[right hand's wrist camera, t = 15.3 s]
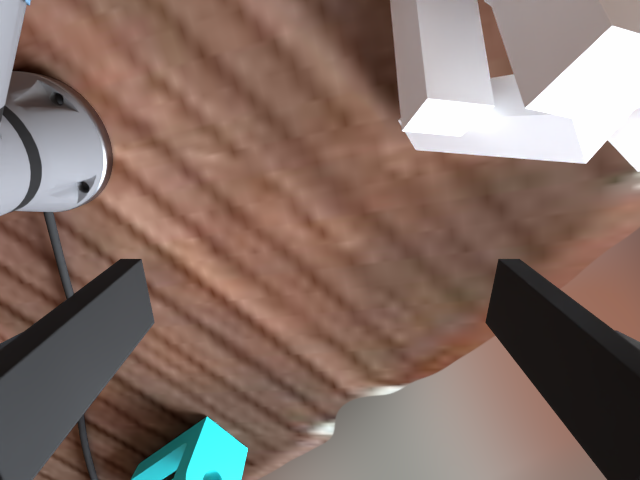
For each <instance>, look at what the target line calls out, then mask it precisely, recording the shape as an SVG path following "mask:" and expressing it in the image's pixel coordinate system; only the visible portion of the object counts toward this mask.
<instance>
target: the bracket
mask: <svg viewBox="0 0 640 480" xmlns="http://www.w3.org/2000/svg"><path fill="white" fill-rule="evenodd" d="M247 451H248V448H246V447H245V446H244V445H243V444H241V443H240V442H239V441H237V440H236V439H235V438H234V437H232V436H231V435H230V434H229V433H227V432H226V431H225V430H224V429H222V428H221V427H220V426H218V425H217V424H216V423H215V422H213V421H212V420H211V419H210V418H208V417H205V418H204V419H203V420H201V421H200V422H198V423H197V424H195V425H194V426H193V427H191V428H190V429H188V430H187V431H185V432H184V433H183V434H181V435H180V436H178V437H177V438H175V439H174V440H172V441H171V442H170V443H168V444H167V445H165V446H164V447H162V448H161V449H160V450H158V451H157V452H155V453H154V454H152V455H151V456H149V457H148V458H147V459H145V460H144V461H142V462H141V463H140V464H139V465H138V466H137V468H136V470H135V472H134V474H133V476H132V478H131V480H162V479H164V478H165V477H167V476H169V475H170V474H172V473H173V472H175V471H176V470H177V471H176V473H175V476H174V478H173V479H171V480H241V478H242V474H243V469H244V465H245V460H246V456H247Z"/></svg>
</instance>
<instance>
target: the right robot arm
mask: <svg viewBox="0 0 640 480" xmlns="http://www.w3.org/2000/svg"><path fill="white" fill-rule="evenodd" d="M30 1H31V0H0V216H1V215H4V214H6V213H9V212H12V211H36V212H44V216H45V220H46V224H47V228H48V232H49V236H50V240H51V244H52V248H53V251H54V255H55V259H56V262H57V266H58V270H59V274H60V277H61V281H62V284H63V288H64V291H65V295H66V298H67V300H65V301H64V302H63V303H61V304H60V305H59V306H58V307H56V308H55V309H54V310H52V311H51V312H50V313H48V314H47V315H46V316H44V317H43V318H42V319H40V320H39V321H38V322H36V323H35V324H34V325H32V326H31V327H30V328H28V329H27V330H26V331H24V332H22V333H20V334H18V335H16V336H14V337H12V338H10V339H8V340H7V341H5V342H3V343H1V344H0V480H33V479H34V477H35V476H36V475H37V473H38V472H39V471H40V470H41V468H42V467H43V466H44V464H45V463H46V462H47V461H48V459H49V458H50V457H51V455H52V454H53V453H54V452H55V450H56V449H57V448H58V446H59V445H60V444H61V443H62V441H63V440H64V439H65V437H66V436H67V435H68V434H69V432H70V431H71V430H72V428H73V427H74V426H75V424H76V423H77V422H78V428H79V434H80V439H81V444H82V449H83V454H84V458H85V462H86V465H87V469H88V472H89V475H90V479H91V480H98V479H97V475H96V472H95V468H94V465H93V461H92V457H91V453H90V449H89V444H88V439H87V433H86V427H85V420H84V413H85V412H86V410H87V409H88V408H89V406H90V405H91V404H92V403H93V401H94V400H95V399H96V397H97V396H98V395H99V394H100V392H101V391H102V390H103V388H104V387H105V386H106V384H107V383H108V382H109V381H110V379H111V378H112V377H113V375H114V374H115V373H116V372H117V370H118V369H119V368H120V366H121V365H122V364H123V363H124V361H125V360H126V359H127V357H128V356H129V355H130V354H131V352H132V351H133V350H134V348H135V347H136V346H137V344H138V343H139V342H140V341H141V339H142V338H143V337H144V335H145V334H146V333H147V332H148V330H149V329H150V328H151V326H152V325H153V324H154V318H153V313H152V308H151V303H150V298H149V293H148V289H147V284H146V279H145V274H144V269H143V264H142V259H120V260H119V261H117V262H116V263H115V264H113V265H112V266H111V267H109V268H108V269H107V270H105V271H104V272H103V273H101V274H100V275H99V276H97V277H96V278H95V279H93V280H92V281H91V282H89V283H88V284H87V285H85V286H84V287H83V288H81V289H80V290H79V291H77V292H76V293H75V294H74V293H73V289H72V286H71V282H70V278H69V275H68V271H67V267H66V263H65V259H64V255H63V251H62V247H61V243H60V239H59V235H58V231H57V227H56V223H55V218H54V214H53V212H60V211H67V210H71V209H74V208H76V207H79V206H81V205H84V204H86V203H88V202H90V201H92V200H93V199H94V198H96V197H97V196H98V195H99V194H100V193H101V192H102V191H103V189H104V188H105V186H106V185H107V183H108V180H109V178H110V175H111V170H112V162H113V156H112V147H111V143H110V139H109V136H108V133H107V131H106V128H105V126H104V124H103V122H102V121H101V119H100V117H99V116H98V114H97V113H96V111H95V110H94V109H93V107H92V106H91V105H90V104H89V103H88V102H87V101H86V100H85V99H84V98H83V97H82V96H81V95H80V94H79V93H78V92H76V91H75V90H74V89H72V88H71V87H69V86H68V85H66V84H64V83H62V82H60V81H58V80H56V79H54V78H51V77H48V76H45V75H41V74H36V73H28V72H20V71H12V70H13V65H14V60H15V56H16V51H17V47H18V42H19V37H20V33H21V28H22V24H23V19H24V14H25V10H26V5H30ZM486 324H487V325H488V326H489V328H490V329H491V330H492V332H493V333H494V334H495V335H496V337H497V338H498V339H499V341H500V342H501V343H502V344H503V346H504V347H505V348H506V350H507V351H508V352H509V353H510V355H511V356H512V357H513V359H514V360H515V361H516V363H517V364H518V365H519V366H520V368H521V369H522V370H523V372H524V373H525V374H526V375H527V377H528V378H529V379H530V381H531V382H532V383H533V384H534V386H535V387H536V388H537V390H538V391H539V392H540V393H541V395H542V396H543V397H544V399H545V400H546V401H547V403H548V404H549V405H550V406H551V408H552V409H553V410H554V411H555V413H556V414H557V415H558V417H559V418H560V419H561V421H562V422H563V423H564V424H565V426H566V427H567V428H568V430H569V431H570V432H571V434H572V435H573V436H574V437H575V439H576V440H577V441H578V443H579V444H580V445H581V446H582V448H583V449H584V450H585V452H586V453H587V454H588V455H589V457H590V458H591V459H592V461H593V462H594V463H595V464H596V466H597V467H598V468H599V470H600V471H601V472H602V473H603V475H604V476H605V477H606V479H607V480H640V342H638V341H636V340H634V339H632V338H630V337H629V336H627V335H625V334H622V333H620V332H619V331H614V330H613V329H612V328H610V327H609V326H608V325H606V324H605V323H604V322H602V321H601V320H600V319H598V318H597V317H596V316H594V315H593V314H592V313H590V312H589V311H588V310H586V309H585V308H584V307H582V306H581V305H580V304H579V303H577V302H576V301H575V300H573V299H572V298H571V297H569V296H568V295H567V294H565V293H564V292H563V291H561V290H560V289H559V288H557V287H556V286H555V285H553V284H552V283H551V282H549V281H548V280H547V279H545V278H544V277H543V276H541V275H540V274H539V273H537V272H536V271H535V270H533V269H532V268H531V267H529V266H528V265H527V264H525V263H524V262H523V261H521V260H520V259H498V264H497V269H496V274H495V279H494V284H493V289H492V293H491V298H490V303H489V308H488V313H487V318H486Z"/></svg>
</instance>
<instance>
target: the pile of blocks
mask: <svg viewBox="0 0 640 480" xmlns="http://www.w3.org/2000/svg"><path fill="white" fill-rule="evenodd" d="M484 2H486V3H487V4H489V5H490V6H492V9H493V12H494V15H495V18H496V21H497V25H498V28H499V31H500V34H501V37H502V40H503V43H504V46H505V49H506V52H507V55H508V58H509V61H510V64H511V67H512V70H513V73H514V74H513V75H507V76H501V77H494V78H490V74H489V68H488V62H487V56H486V50H485V44H484V38H483V32H482V26H481V20H480V14H479V8H478V2H477V0H390V5H391V16H392V27H393V38H394V49H395V60H396V71H397V82H398V93H399V104H400V115H401V118H400V119H399V120H398V121H399V123H400V125H401V126H402V131H405V133H406V134H407V136H408V138H409V139H410V141H411V143H412V144H413V146H414V148H415V149H416V150H422V151H435V152H447V153H460V154H472V155H485V156H497V157H510V158H522V159H535V160H547V161H560V162H572V163H585V164H586V163H587V162H588V161H589V160H590V158H591V157H592V156H593V155H594V154H595V153H596V152H597V151H598V150H599V148H600V147H601V146H602V145H603V144H604V143H605V142H606V141H607V140H608V141H609V142H610V143H611V144H612V145H613V146H614V147H615V148H616V149H617V150H618V151H619V152H620V154H621V155H622V156H623V157H624V158H625V159H626V160H627V161H628V162H629V163H630V164H631V165H632V166H633V167H634V168H635V169H636V170H637V171H640V0H484Z"/></svg>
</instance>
